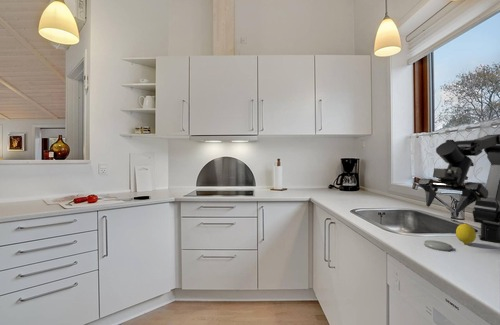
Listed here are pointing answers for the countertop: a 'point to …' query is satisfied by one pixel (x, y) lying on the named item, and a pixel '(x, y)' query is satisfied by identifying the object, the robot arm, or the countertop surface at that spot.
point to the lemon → (465, 233)
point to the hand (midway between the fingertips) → (441, 208)
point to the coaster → (438, 245)
